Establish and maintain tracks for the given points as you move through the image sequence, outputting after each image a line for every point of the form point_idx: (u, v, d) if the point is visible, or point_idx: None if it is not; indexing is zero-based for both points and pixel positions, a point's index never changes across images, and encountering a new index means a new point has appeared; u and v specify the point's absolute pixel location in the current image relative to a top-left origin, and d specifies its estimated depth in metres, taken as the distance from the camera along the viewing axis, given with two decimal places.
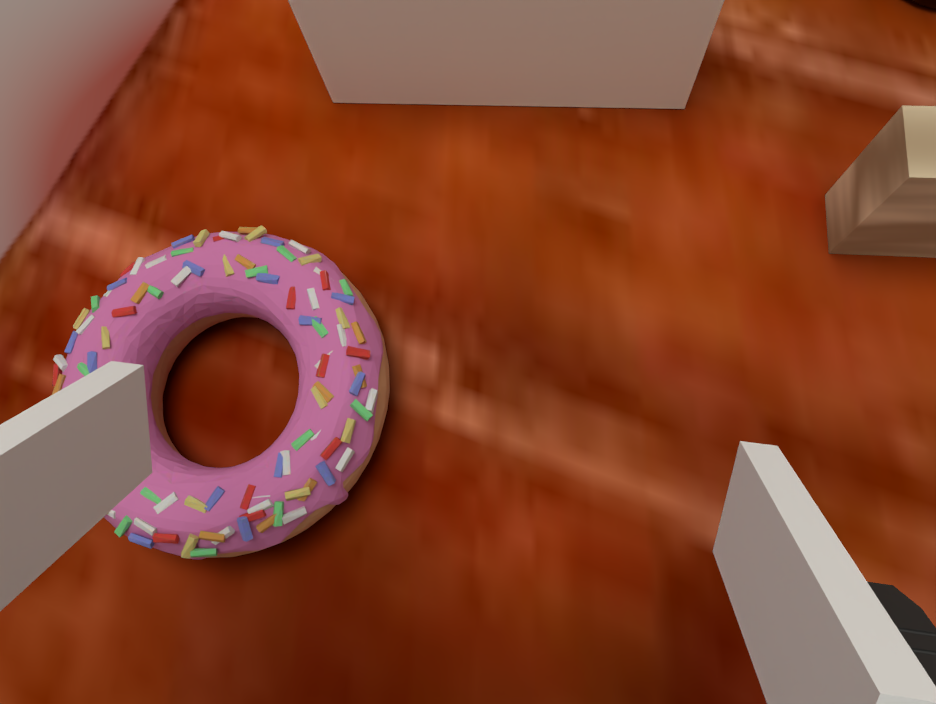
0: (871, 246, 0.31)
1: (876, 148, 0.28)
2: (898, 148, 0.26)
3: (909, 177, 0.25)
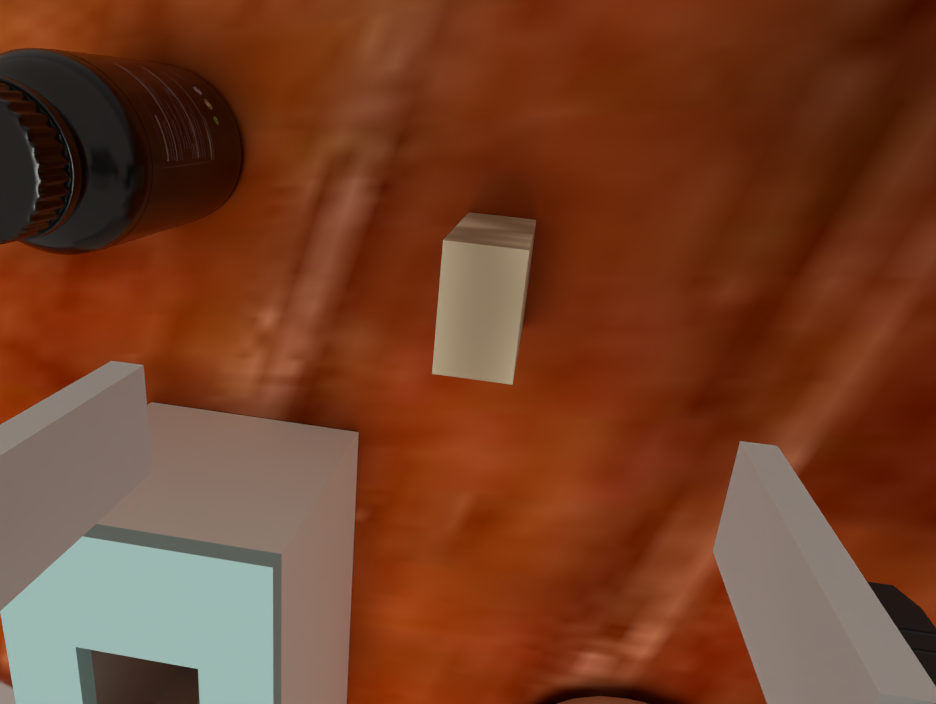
0: (525, 303, 0.30)
1: None
2: None
3: (512, 383, 0.25)
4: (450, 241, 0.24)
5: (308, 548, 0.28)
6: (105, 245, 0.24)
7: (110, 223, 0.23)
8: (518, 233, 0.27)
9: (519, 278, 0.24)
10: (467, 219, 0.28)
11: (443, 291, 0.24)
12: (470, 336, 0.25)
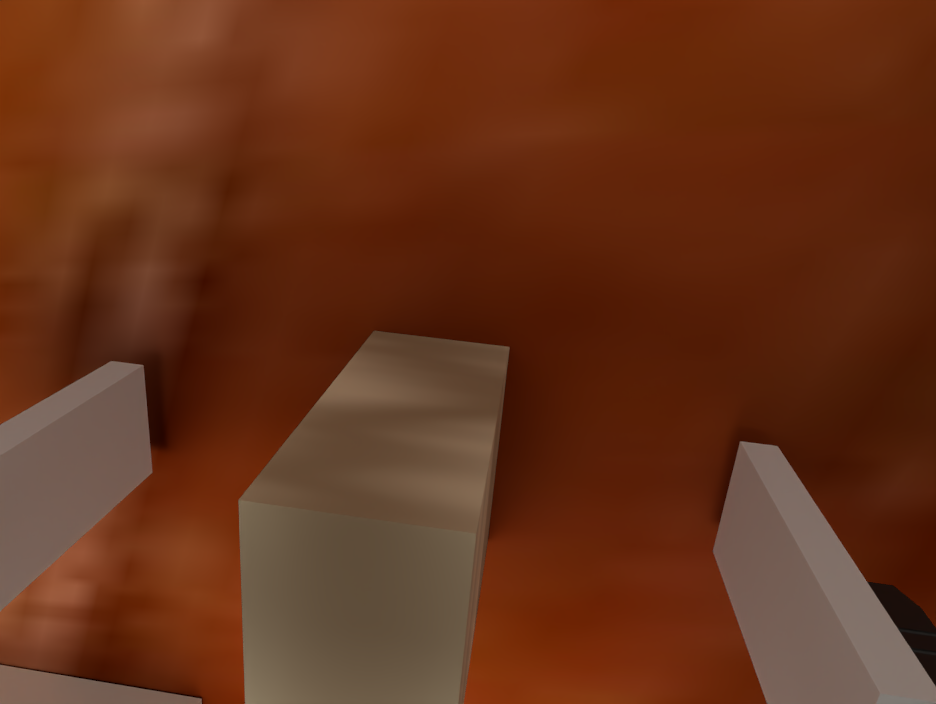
0: (490, 511, 0.15)
1: None
2: None
3: None
4: (259, 503, 0.09)
5: None
6: None
7: None
8: (461, 421, 0.11)
9: (453, 598, 0.09)
10: (359, 364, 0.13)
11: (254, 619, 0.09)
12: None
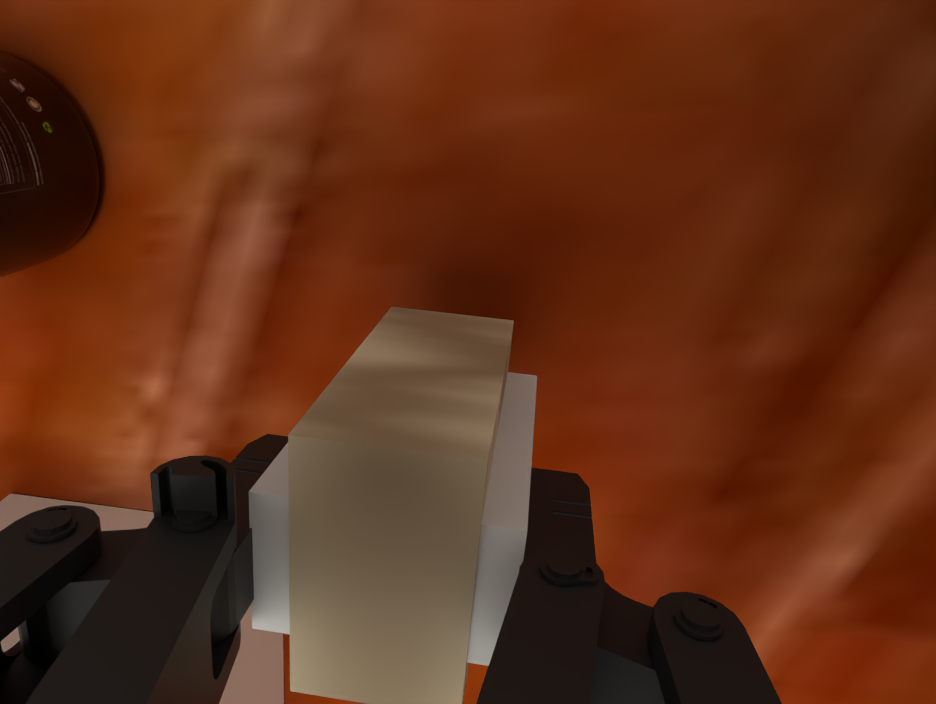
0: None
1: None
2: None
3: None
4: (305, 437, 0.10)
5: None
6: None
7: None
8: (472, 378, 0.13)
9: (467, 517, 0.10)
10: (380, 333, 0.15)
11: (299, 538, 0.11)
12: (365, 627, 0.11)
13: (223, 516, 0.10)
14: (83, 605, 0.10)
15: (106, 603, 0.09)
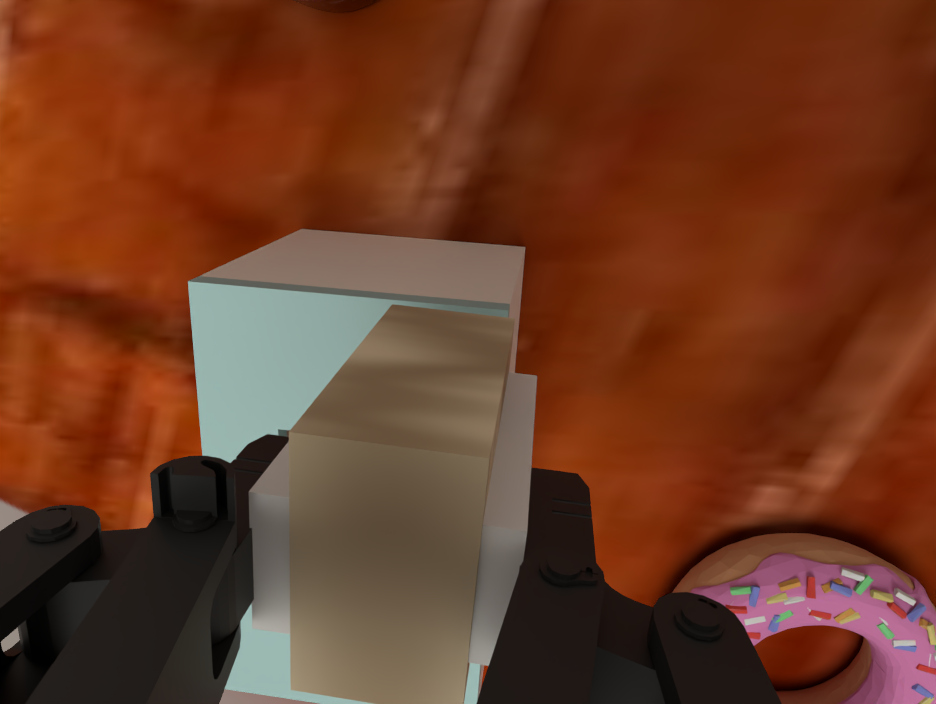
0: None
1: None
2: None
3: None
4: (306, 434, 0.10)
5: None
6: None
7: None
8: (474, 376, 0.13)
9: (469, 515, 0.10)
10: (381, 330, 0.15)
11: (299, 536, 0.11)
12: (365, 626, 0.11)
13: (223, 516, 0.10)
14: (83, 606, 0.10)
15: (106, 603, 0.09)
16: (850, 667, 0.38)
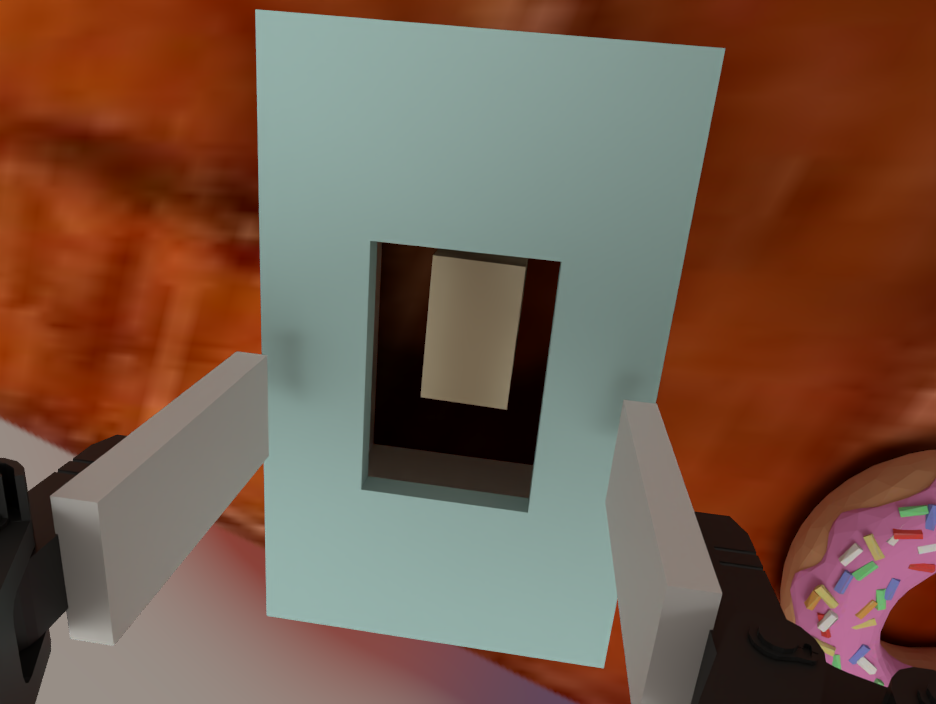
0: (520, 318, 0.29)
1: None
2: None
3: (506, 409, 0.24)
4: (440, 256, 0.22)
5: None
6: None
7: None
8: None
9: (515, 296, 0.22)
10: None
11: (433, 310, 0.23)
12: (461, 358, 0.23)
13: (15, 517, 0.10)
14: None
15: None
16: None
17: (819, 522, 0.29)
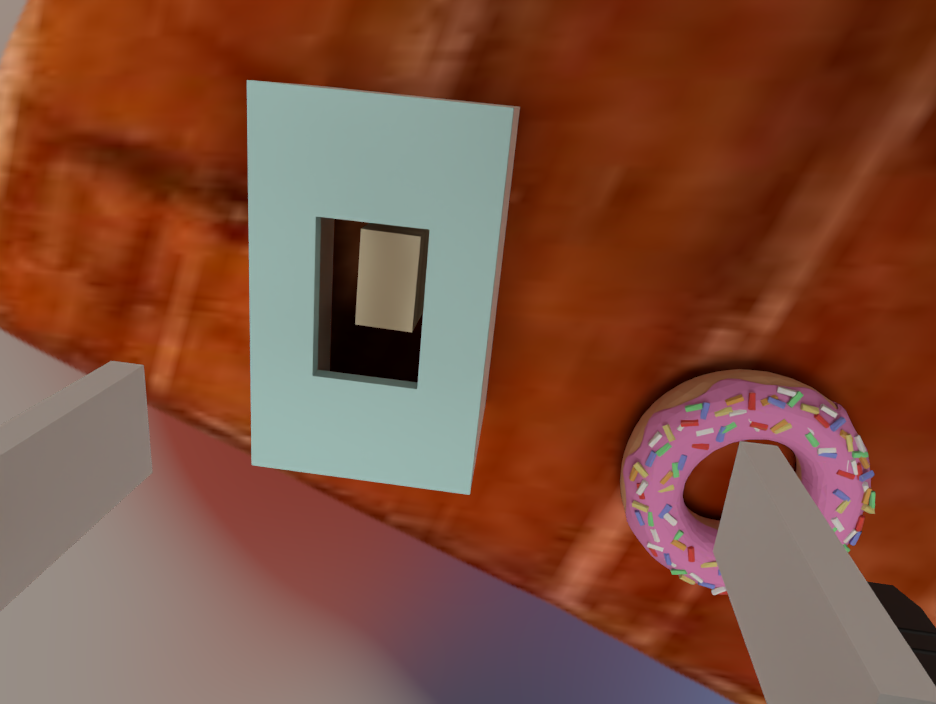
0: None
1: None
2: None
3: None
4: (366, 229, 0.34)
5: (511, 148, 0.32)
6: None
7: None
8: None
9: (414, 256, 0.34)
10: None
11: (361, 265, 0.35)
12: (381, 297, 0.35)
13: None
14: None
15: None
16: None
17: (641, 422, 0.41)
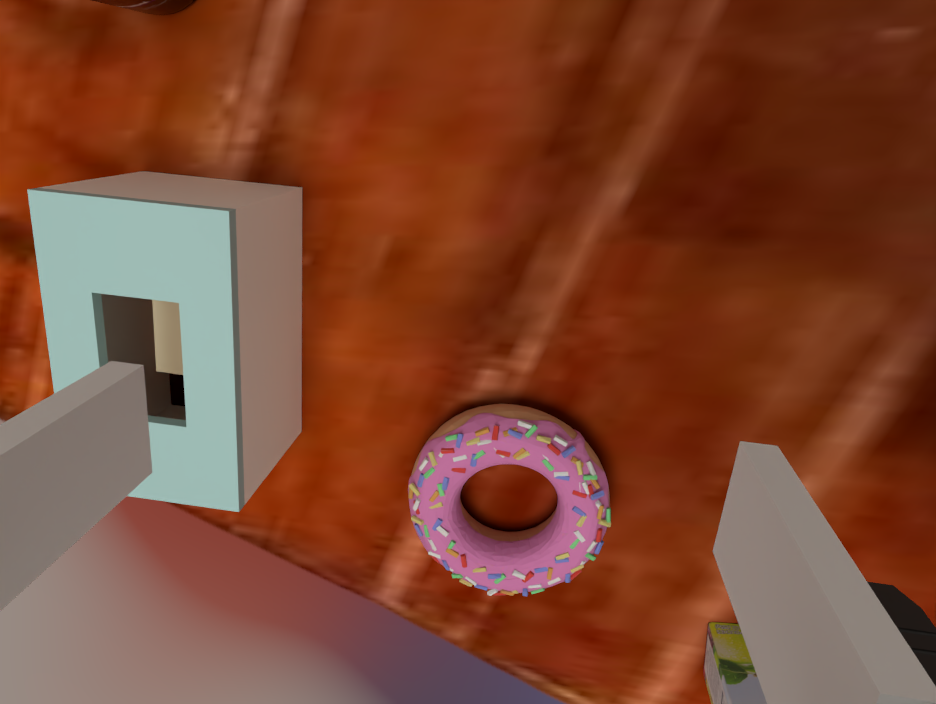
0: None
1: None
2: None
3: None
4: None
5: (258, 233, 0.39)
6: None
7: None
8: None
9: None
10: None
11: (156, 323, 0.42)
12: (174, 350, 0.43)
13: None
14: None
15: None
16: (555, 509, 0.51)
17: (422, 448, 0.49)
